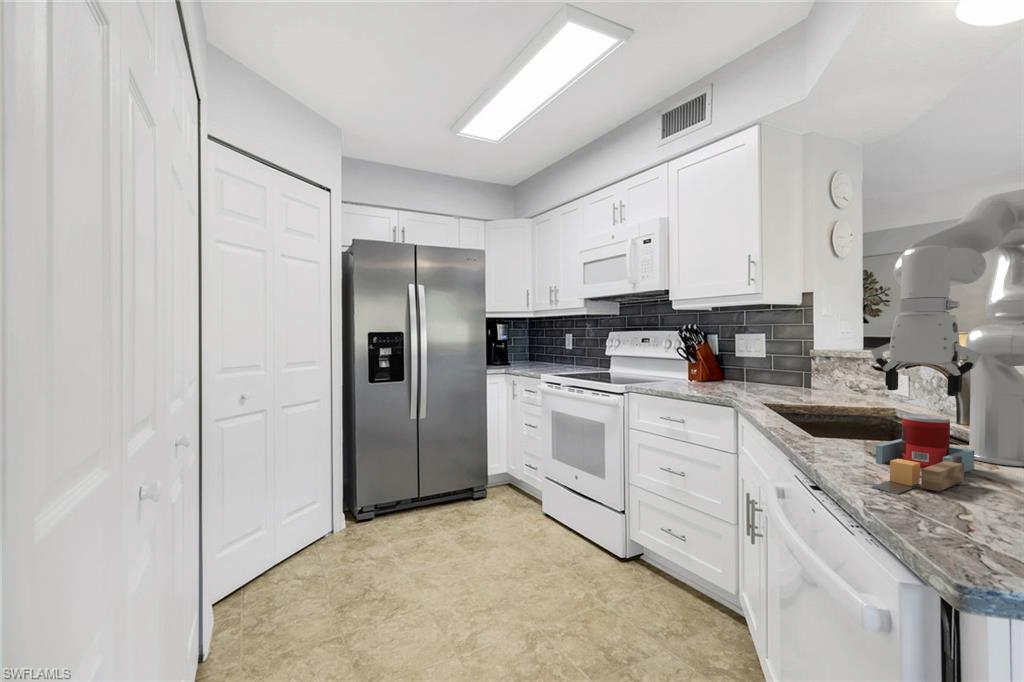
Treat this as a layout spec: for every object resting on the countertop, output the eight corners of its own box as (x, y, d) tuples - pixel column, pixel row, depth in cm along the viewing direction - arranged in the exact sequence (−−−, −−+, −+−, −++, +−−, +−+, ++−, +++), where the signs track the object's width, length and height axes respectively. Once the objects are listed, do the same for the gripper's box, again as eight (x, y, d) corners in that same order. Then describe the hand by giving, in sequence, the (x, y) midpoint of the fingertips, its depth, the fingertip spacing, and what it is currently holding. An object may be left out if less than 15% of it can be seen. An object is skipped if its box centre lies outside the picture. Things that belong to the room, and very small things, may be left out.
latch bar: (948, 476, 93) (949, 454, 93) (965, 480, 91) (965, 457, 91) (921, 487, 87) (921, 463, 87) (938, 491, 85) (938, 466, 85)
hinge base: (946, 477, 94) (946, 476, 94) (972, 483, 91) (972, 481, 91) (938, 480, 92) (938, 479, 92) (964, 486, 89) (964, 485, 89)
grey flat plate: (895, 479, 93) (895, 478, 93) (920, 485, 90) (920, 484, 90) (872, 487, 88) (872, 486, 88) (897, 494, 85) (897, 492, 85)
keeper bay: (901, 454, 112) (901, 438, 112) (974, 468, 101) (974, 450, 101) (875, 462, 106) (876, 445, 105) (950, 478, 94) (950, 458, 94)
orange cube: (897, 478, 93) (898, 458, 93) (919, 483, 90) (920, 462, 90) (889, 481, 91) (890, 460, 91) (911, 486, 88) (912, 465, 88)
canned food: (958, 471, 99) (959, 420, 99) (915, 469, 100) (916, 418, 100) (933, 461, 106) (934, 414, 106) (893, 459, 108) (894, 412, 108)
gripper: (990, 307, 88) (987, 397, 88) (882, 310, 103) (879, 387, 103) (975, 305, 84) (972, 399, 84) (865, 309, 99) (863, 388, 99)
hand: (921, 392), depth 93 cm, fingers open, 9 cm apart
